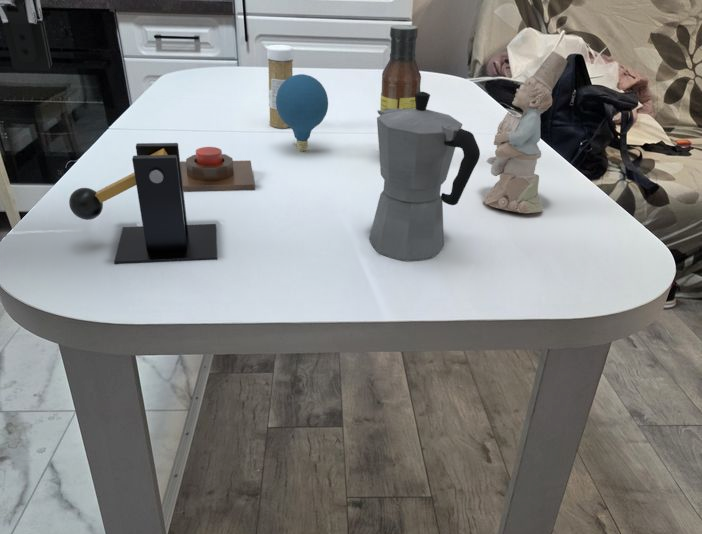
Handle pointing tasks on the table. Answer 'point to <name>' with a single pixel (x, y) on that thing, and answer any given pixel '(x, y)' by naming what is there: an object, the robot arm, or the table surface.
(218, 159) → the lamp button
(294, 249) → the table surface
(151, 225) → the lamp switch
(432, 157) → the coffeepot
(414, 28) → the sauce bottle
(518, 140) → the figurine
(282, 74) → the sprinkles bottle
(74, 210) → the switch lever
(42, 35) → the robot arm
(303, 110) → the light bulb
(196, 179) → the button block
